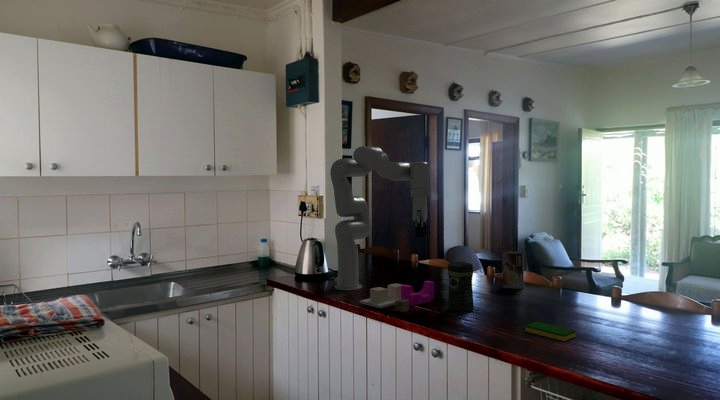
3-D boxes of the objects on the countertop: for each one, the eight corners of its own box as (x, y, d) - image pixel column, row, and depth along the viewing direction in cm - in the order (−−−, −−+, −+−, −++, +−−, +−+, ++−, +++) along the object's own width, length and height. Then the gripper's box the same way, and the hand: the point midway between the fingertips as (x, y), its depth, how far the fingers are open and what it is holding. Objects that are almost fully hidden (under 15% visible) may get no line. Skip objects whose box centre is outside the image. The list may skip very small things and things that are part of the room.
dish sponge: (564, 342, 161) (564, 334, 161) (525, 332, 171) (525, 325, 171) (576, 337, 165) (576, 330, 165) (537, 328, 176) (537, 321, 176)
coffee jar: (477, 310, 198) (477, 262, 197) (462, 313, 194) (461, 264, 193) (459, 305, 206) (459, 258, 205) (444, 308, 202) (444, 261, 201)
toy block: (411, 306, 206) (411, 288, 206) (401, 303, 211) (401, 285, 211) (438, 300, 215) (438, 282, 215) (427, 298, 220) (427, 280, 220)
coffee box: (524, 286, 238) (524, 251, 238) (523, 289, 232) (523, 253, 232) (503, 285, 242) (503, 250, 241) (502, 287, 236) (502, 252, 235)
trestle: (360, 303, 212) (359, 288, 212) (394, 294, 226) (394, 281, 225) (380, 308, 203) (380, 293, 203) (414, 299, 217) (414, 285, 216)
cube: (395, 311, 200) (394, 300, 199) (400, 308, 203) (399, 298, 203) (404, 312, 197) (404, 302, 197) (409, 310, 201) (409, 299, 200)
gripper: (413, 192, 216) (415, 233, 217) (407, 193, 199) (408, 238, 200) (432, 192, 214) (433, 233, 215) (427, 193, 197) (428, 238, 198)
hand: (421, 235), depth 207 cm, fingers open, 9 cm apart
